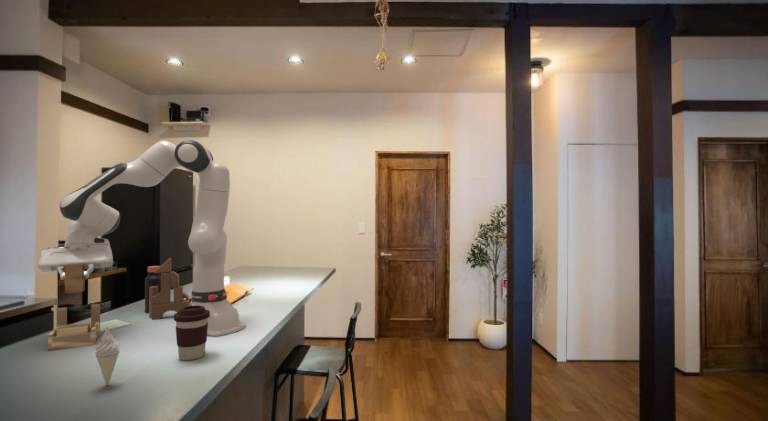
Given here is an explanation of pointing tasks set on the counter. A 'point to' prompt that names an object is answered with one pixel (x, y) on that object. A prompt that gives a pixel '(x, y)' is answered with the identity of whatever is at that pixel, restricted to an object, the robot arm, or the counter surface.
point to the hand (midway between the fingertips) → (74, 277)
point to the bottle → (151, 284)
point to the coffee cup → (191, 331)
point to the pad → (112, 325)
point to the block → (74, 278)
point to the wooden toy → (166, 293)
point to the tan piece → (74, 331)
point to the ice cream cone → (107, 355)
